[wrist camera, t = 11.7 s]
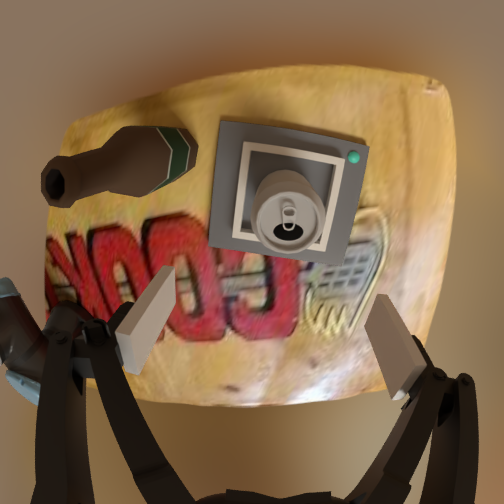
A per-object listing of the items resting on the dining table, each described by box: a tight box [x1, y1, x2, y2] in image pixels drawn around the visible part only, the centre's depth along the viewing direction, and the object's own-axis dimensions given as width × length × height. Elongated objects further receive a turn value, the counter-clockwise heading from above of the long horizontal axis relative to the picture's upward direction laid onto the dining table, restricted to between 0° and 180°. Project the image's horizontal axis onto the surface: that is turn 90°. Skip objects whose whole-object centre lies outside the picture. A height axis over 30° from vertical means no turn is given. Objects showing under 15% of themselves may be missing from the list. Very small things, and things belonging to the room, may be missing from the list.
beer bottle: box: [41, 126, 198, 208], centre depth 25 cm, size 8×8×24 cm
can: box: [250, 169, 326, 254], centre depth 30 cm, size 8×8×12 cm
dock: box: [208, 121, 369, 266], centre depth 36 cm, size 20×18×2 cm
